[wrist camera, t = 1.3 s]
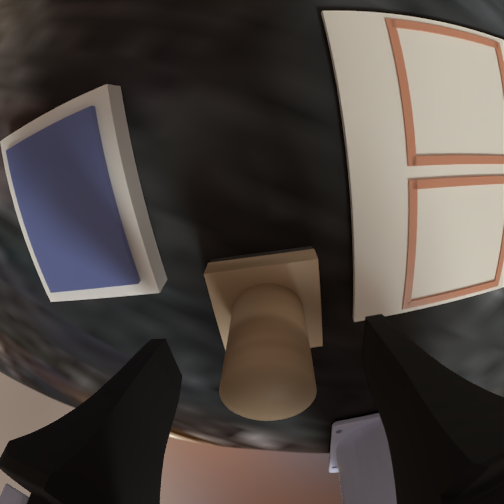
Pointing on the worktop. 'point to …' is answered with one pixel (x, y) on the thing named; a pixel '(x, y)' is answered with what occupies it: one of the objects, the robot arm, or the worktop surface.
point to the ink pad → (83, 200)
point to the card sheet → (420, 158)
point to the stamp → (267, 330)
